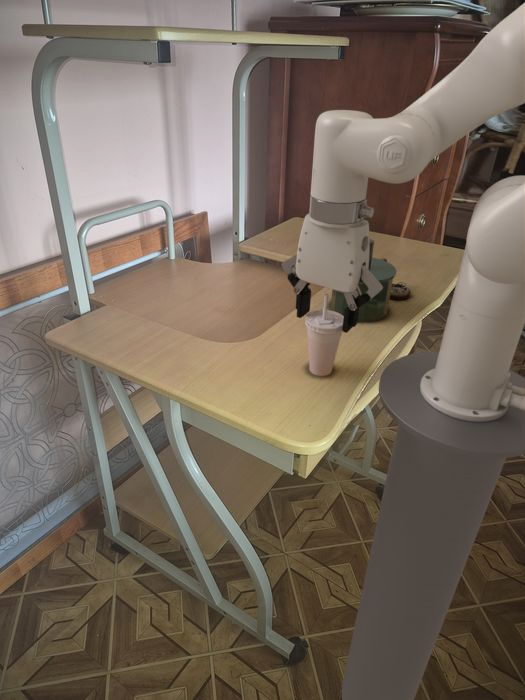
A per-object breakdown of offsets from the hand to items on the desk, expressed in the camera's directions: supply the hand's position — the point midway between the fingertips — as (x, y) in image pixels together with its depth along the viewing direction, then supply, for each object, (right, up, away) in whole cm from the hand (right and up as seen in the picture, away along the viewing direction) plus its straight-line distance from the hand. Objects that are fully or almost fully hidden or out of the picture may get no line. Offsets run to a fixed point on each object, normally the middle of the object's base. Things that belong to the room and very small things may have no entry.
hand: (325, 320), depth 78 cm
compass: (+19, +8, +32) cm, 38 cm away
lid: (+10, +11, +20) cm, 25 cm away
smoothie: (0, -8, +5) cm, 9 cm away
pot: (+10, +4, +24) cm, 26 cm away
